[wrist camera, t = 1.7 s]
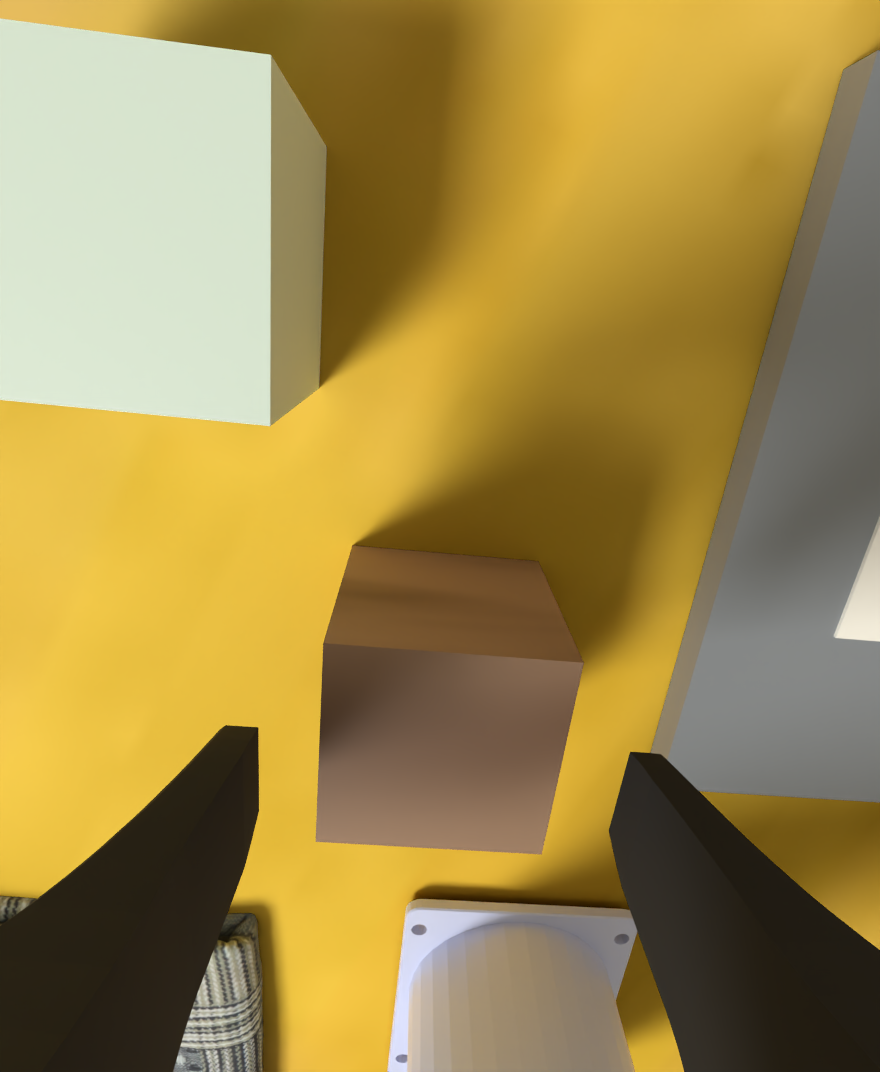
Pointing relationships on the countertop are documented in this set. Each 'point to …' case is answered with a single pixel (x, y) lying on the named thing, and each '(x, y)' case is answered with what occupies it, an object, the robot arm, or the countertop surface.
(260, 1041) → the dish towel
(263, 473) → the countertop surface
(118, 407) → the sage block
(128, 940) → the robot arm
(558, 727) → the walnut block
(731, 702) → the base plate
